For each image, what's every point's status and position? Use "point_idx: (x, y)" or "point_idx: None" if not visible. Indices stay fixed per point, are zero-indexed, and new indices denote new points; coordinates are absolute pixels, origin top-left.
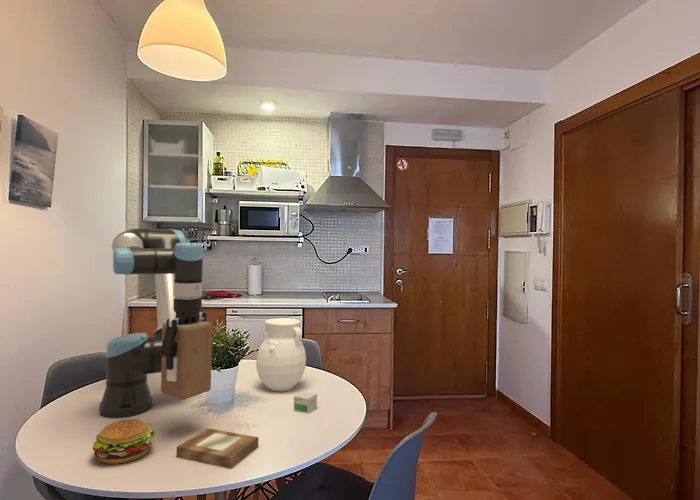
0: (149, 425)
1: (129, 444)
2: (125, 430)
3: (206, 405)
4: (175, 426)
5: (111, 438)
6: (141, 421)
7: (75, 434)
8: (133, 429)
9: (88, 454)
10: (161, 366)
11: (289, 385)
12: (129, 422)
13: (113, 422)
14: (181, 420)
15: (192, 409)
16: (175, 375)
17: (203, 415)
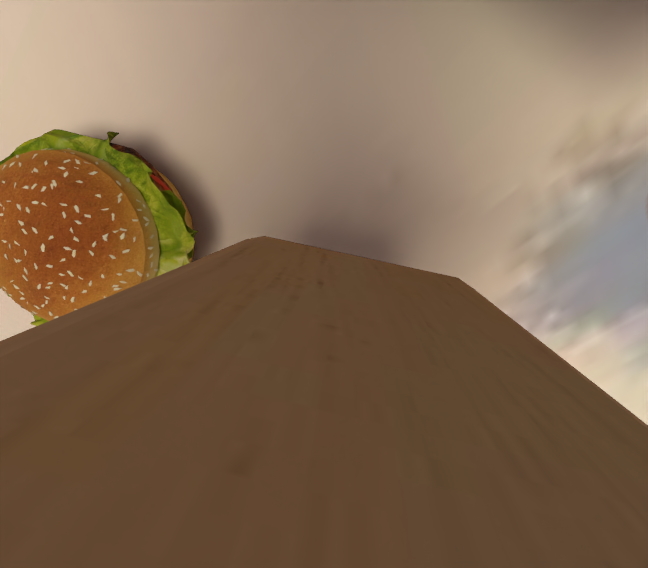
0: (187, 258)
1: (38, 324)
2: (16, 294)
3: (611, 195)
4: (358, 234)
5: None
6: (112, 277)
7: None
8: (44, 310)
9: (61, 128)
10: (158, 276)
11: None
12: (49, 265)
13: (30, 180)
14: (416, 213)
15: (545, 168)
16: None
17: (493, 262)
